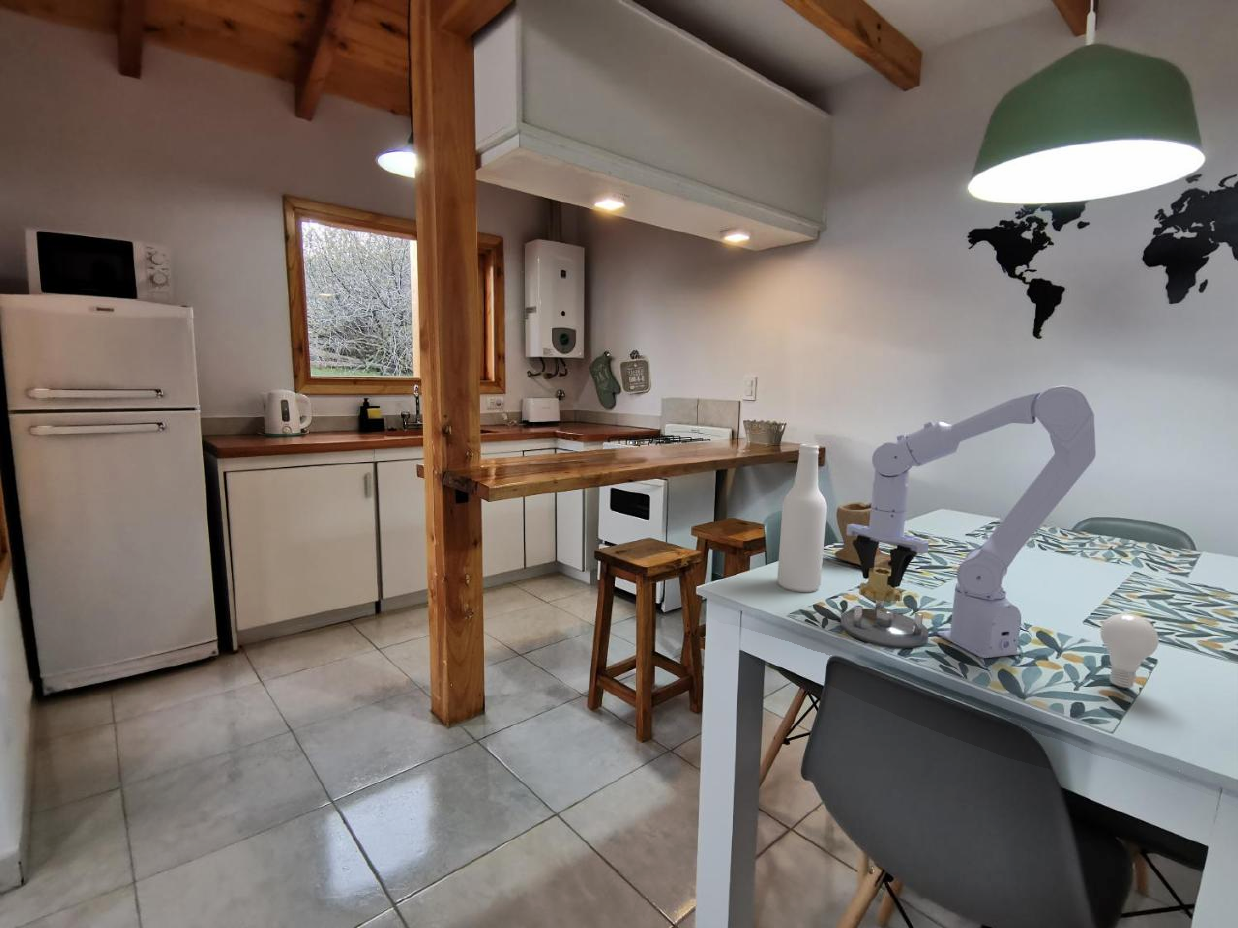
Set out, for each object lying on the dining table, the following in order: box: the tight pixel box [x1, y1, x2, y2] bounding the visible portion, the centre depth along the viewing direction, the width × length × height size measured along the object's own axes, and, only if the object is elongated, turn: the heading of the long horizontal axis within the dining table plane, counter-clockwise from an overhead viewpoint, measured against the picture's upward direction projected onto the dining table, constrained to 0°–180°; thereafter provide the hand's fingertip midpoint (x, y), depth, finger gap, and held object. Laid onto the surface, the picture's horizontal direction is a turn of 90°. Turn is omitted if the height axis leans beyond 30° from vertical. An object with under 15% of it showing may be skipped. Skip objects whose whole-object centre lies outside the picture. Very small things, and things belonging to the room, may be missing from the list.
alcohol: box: [776, 443, 828, 593], centre depth 125 cm, size 9×9×30 cm
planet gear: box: [858, 567, 903, 604], centre depth 109 cm, size 7×7×4 cm
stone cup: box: [834, 501, 891, 570], centre depth 142 cm, size 15×12×15 cm
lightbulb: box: [1100, 612, 1159, 690], centre depth 86 cm, size 6×6×11 cm
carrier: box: [840, 600, 929, 649], centre depth 105 cm, size 14×14×5 cm
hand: (881, 581), depth 109 cm, fingers closed on planet gear, 5 cm apart
